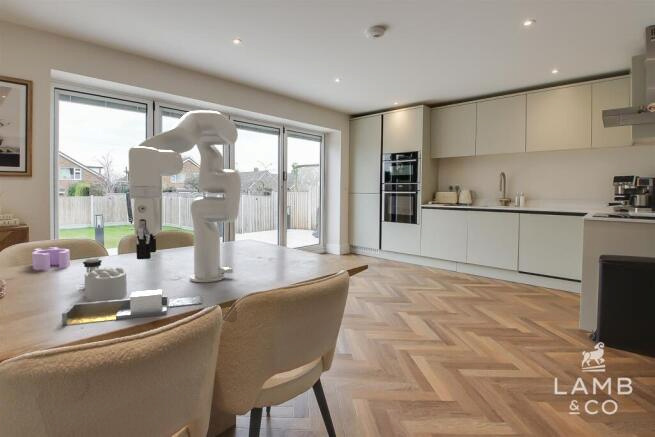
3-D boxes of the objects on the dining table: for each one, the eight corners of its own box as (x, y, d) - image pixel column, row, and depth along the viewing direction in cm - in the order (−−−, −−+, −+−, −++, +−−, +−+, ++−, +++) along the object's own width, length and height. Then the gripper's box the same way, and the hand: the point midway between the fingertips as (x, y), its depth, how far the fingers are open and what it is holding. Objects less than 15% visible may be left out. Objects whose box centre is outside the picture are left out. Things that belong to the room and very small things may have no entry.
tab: (200, 297, 111) (200, 296, 111) (201, 303, 104) (201, 302, 104) (169, 300, 107) (169, 299, 107) (169, 307, 101) (169, 306, 101)
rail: (167, 305, 103) (167, 295, 102) (166, 314, 95) (166, 303, 95) (71, 314, 94) (71, 304, 93) (62, 325, 86) (61, 313, 86)
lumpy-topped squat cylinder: (117, 288, 119) (116, 263, 118) (133, 296, 110) (132, 270, 110) (81, 295, 111) (80, 268, 110) (95, 304, 102) (94, 275, 102)
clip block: (162, 304, 100) (162, 289, 99) (161, 310, 96) (161, 294, 95) (132, 307, 97) (132, 292, 97) (130, 313, 93) (130, 296, 92)
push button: (80, 291, 115) (79, 261, 114) (77, 287, 119) (76, 258, 118) (104, 287, 120) (103, 258, 119) (100, 284, 123) (99, 256, 123)
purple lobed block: (27, 264, 152) (26, 249, 152) (62, 260, 162) (61, 246, 161) (37, 272, 139) (36, 255, 139) (74, 267, 149) (73, 251, 148)
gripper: (155, 194, 87) (157, 261, 88) (164, 193, 103) (165, 249, 105) (122, 193, 85) (124, 262, 86) (136, 192, 101) (138, 250, 102)
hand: (147, 255), depth 95 cm, fingers open, 9 cm apart
